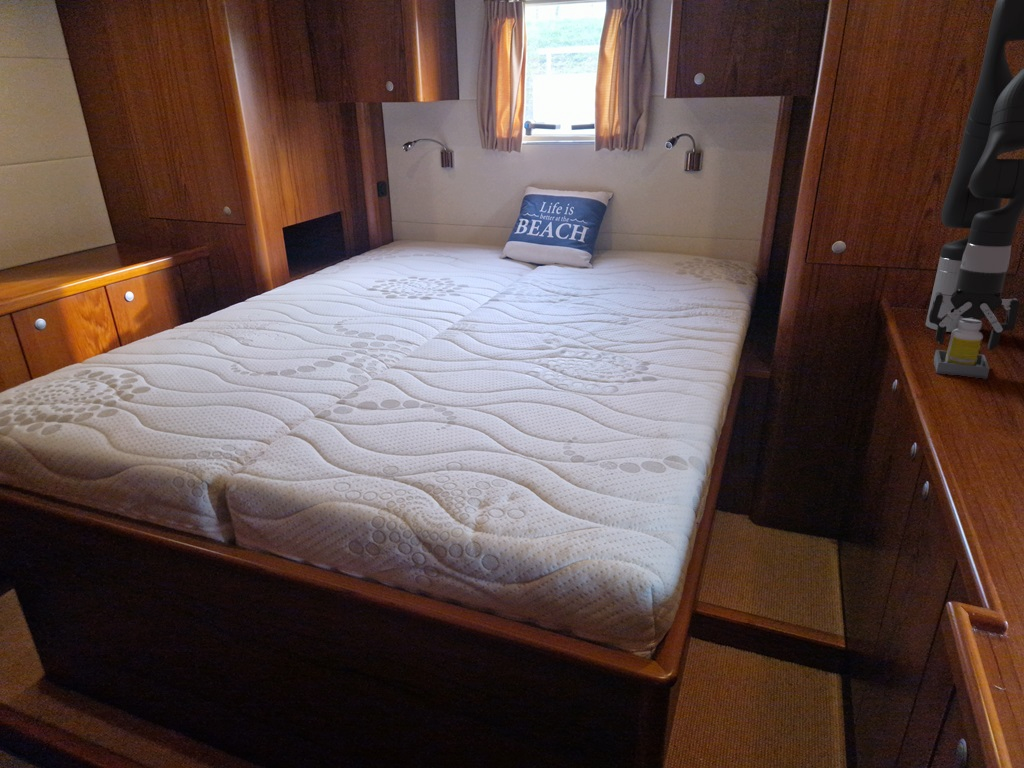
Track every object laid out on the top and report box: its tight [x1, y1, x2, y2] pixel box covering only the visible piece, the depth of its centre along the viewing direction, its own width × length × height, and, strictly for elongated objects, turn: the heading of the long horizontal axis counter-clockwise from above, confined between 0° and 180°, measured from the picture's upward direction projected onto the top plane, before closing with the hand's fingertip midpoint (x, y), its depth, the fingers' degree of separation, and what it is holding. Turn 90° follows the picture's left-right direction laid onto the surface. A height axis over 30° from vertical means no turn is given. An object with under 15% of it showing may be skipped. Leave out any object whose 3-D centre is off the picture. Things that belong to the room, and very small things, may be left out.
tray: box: [933, 349, 991, 380], centre depth 136 cm, size 9×9×2 cm
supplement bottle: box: [945, 318, 984, 366], centre depth 134 cm, size 5×5×10 cm
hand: (964, 346), depth 134 cm, fingers open, 8 cm apart
